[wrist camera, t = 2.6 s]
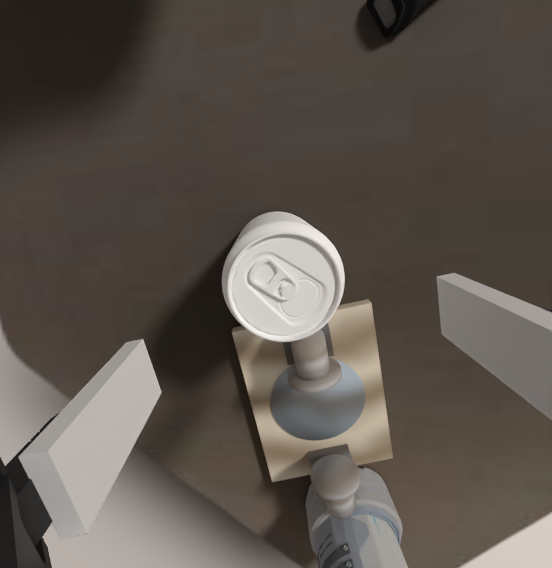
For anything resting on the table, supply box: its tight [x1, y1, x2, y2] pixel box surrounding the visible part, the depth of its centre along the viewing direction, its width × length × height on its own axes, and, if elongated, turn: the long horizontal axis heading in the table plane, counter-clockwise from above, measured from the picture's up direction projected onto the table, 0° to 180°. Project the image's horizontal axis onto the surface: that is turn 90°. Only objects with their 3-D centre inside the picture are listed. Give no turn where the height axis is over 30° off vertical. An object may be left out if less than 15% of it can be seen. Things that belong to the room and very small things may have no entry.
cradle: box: [232, 299, 393, 519], centre depth 32 cm, size 19×14×8 cm
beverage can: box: [222, 212, 345, 342], centre depth 26 cm, size 8×8×12 cm
